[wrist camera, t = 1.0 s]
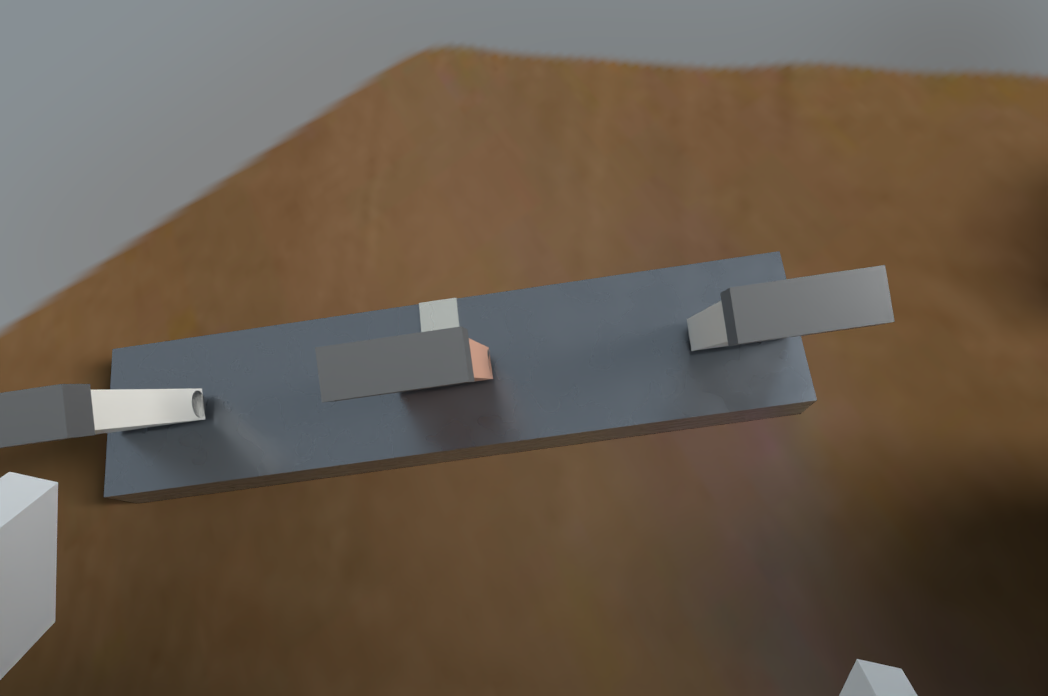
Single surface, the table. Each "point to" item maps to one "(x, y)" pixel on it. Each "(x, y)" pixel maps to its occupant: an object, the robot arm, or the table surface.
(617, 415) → the switch panel
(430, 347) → the lever middle
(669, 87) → the table surface
